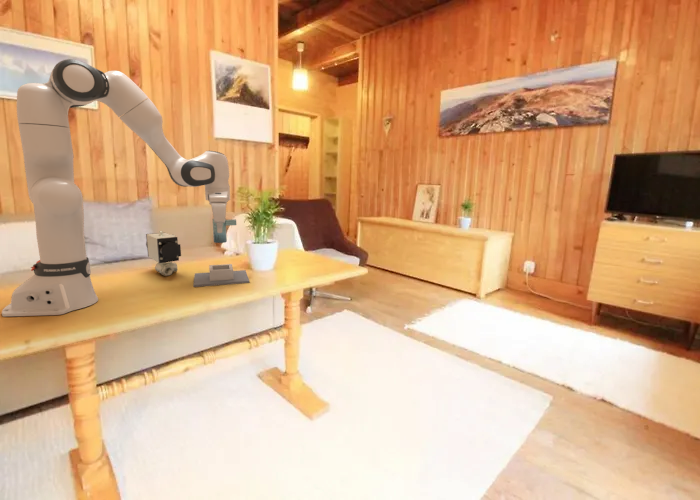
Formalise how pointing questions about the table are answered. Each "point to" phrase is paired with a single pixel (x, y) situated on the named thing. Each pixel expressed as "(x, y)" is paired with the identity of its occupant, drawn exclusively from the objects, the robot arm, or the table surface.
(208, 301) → the table surface
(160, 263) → the ball valve
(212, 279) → the grey base plate
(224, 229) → the elbow
